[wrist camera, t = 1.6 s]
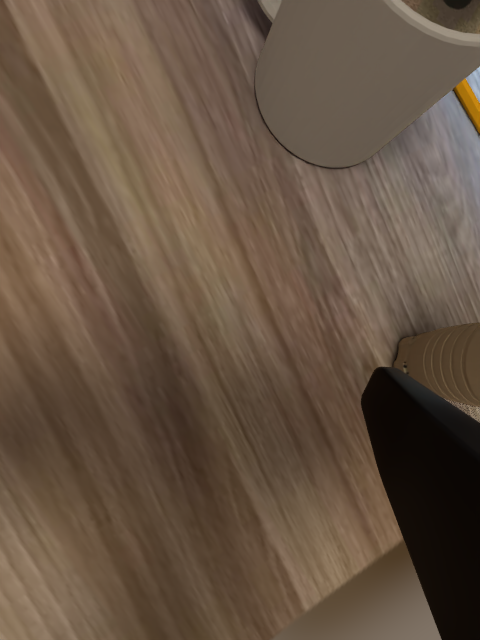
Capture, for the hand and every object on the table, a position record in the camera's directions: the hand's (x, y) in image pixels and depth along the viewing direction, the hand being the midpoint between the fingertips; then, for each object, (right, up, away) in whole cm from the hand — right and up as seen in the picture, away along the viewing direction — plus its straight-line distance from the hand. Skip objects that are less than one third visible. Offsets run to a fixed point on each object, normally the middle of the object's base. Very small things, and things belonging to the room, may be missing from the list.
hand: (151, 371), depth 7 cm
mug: (+6, +15, +16) cm, 23 cm away
